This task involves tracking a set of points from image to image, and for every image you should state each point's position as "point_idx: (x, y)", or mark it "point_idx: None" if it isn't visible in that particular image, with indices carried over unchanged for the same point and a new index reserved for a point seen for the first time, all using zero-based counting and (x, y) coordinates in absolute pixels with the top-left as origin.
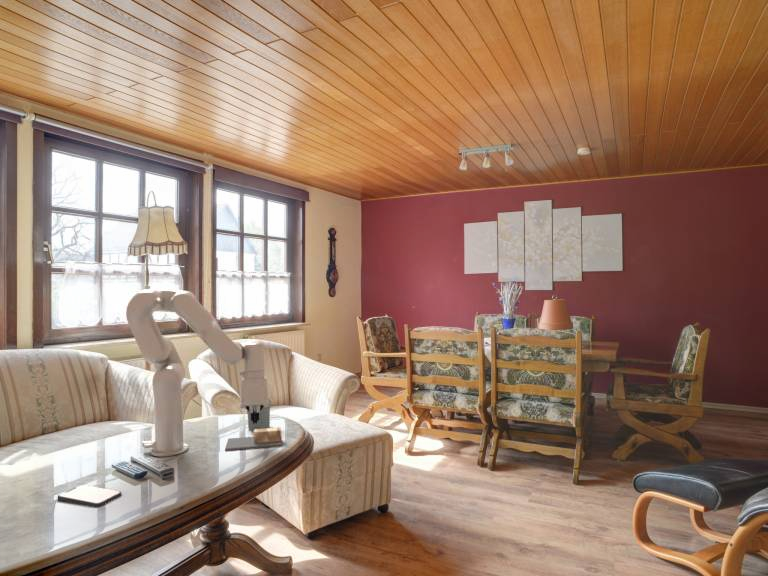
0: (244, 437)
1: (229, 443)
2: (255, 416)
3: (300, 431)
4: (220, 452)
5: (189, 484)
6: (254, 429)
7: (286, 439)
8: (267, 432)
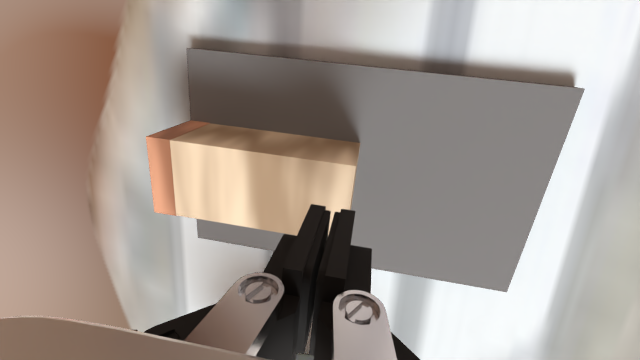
0: (405, 270)
1: (522, 196)
2: (313, 245)
3: (112, 267)
4: (618, 65)
5: None
6: None
7: None
8: (248, 147)
